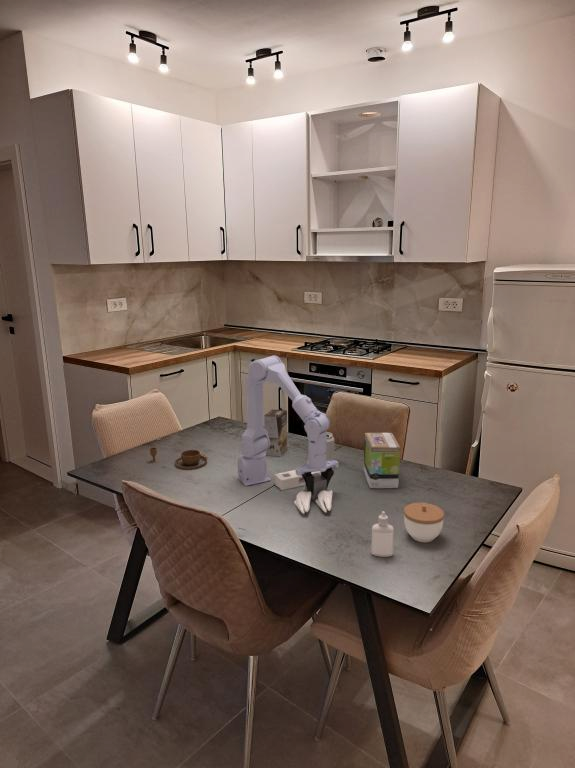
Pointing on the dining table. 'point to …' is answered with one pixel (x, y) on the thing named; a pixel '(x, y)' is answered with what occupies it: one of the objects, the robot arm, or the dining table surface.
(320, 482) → the block
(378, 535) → the eye dropper bottle
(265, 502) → the dining table surface
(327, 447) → the can
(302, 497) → the salt and pepper shakers
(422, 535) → the lidded jar
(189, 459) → the place setting
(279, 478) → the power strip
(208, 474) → the dining table surface
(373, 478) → the tea box
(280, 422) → the coffee box
